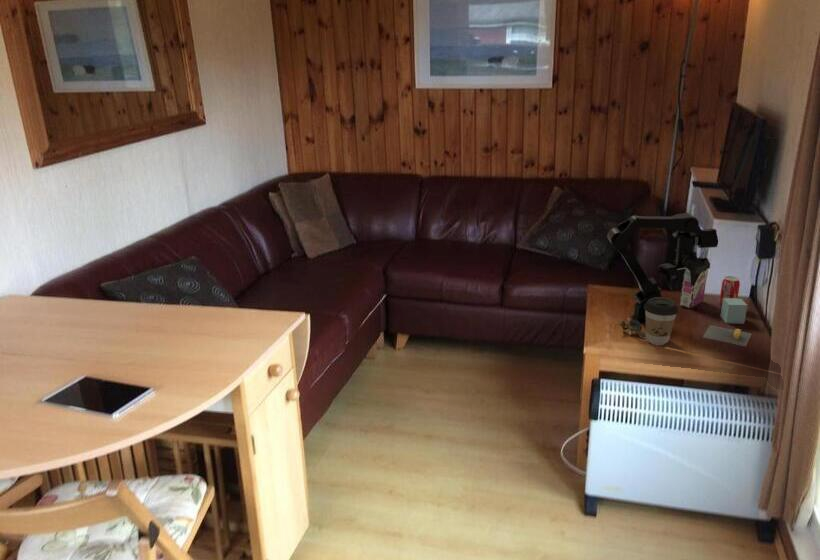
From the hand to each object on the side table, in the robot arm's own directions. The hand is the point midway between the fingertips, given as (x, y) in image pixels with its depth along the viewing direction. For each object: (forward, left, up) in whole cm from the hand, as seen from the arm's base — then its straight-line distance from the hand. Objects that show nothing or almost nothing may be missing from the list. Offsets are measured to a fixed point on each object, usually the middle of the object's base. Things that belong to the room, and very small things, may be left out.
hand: (682, 288), depth 241 cm
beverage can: (+26, +4, -13) cm, 29 cm away
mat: (+7, -18, -13) cm, 23 cm away
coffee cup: (-19, -14, -13) cm, 27 cm away
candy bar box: (+15, +11, -13) cm, 22 cm away
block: (+18, -8, -13) cm, 23 cm away
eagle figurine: (-24, -6, -13) cm, 28 cm away
